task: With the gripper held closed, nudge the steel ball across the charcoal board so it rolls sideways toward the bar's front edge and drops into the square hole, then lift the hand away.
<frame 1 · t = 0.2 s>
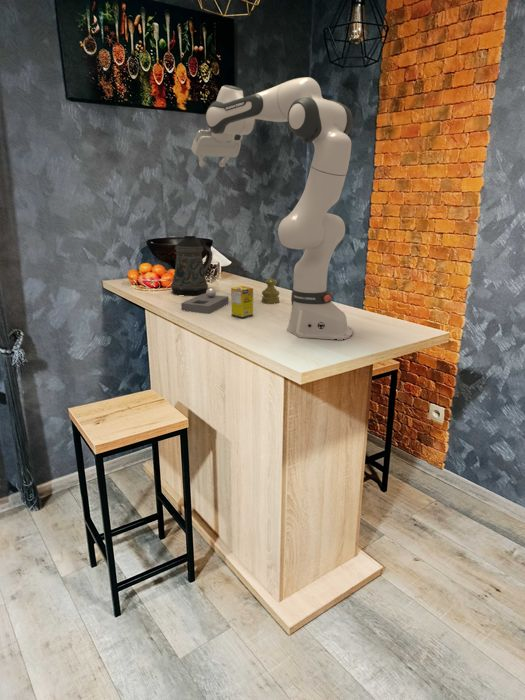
hand: (211, 166, 192), 54 cm above the countertop, tool tilted 30°, fingers open, 8 cm apart
beer stein: (191, 292, 225), on the countertop
steel ball: (211, 292, 201), point 5 cm above the countertop, touching hole board
olive tiered figure: (270, 302, 209), on the countertop
supplement box: (242, 316, 186), on the countertop
hole board: (205, 307, 199), on the countertop
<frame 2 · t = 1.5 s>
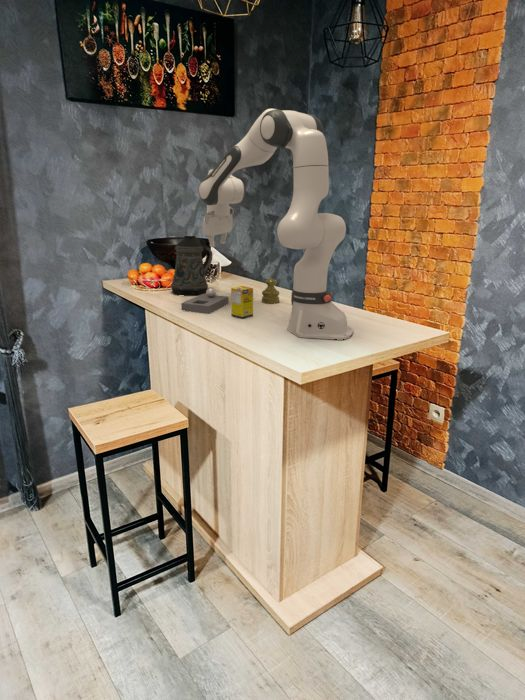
hand: (217, 245, 203), 23 cm above the countertop, tool pointing down, fingers open, 8 cm apart
nothing on the countertop moved.
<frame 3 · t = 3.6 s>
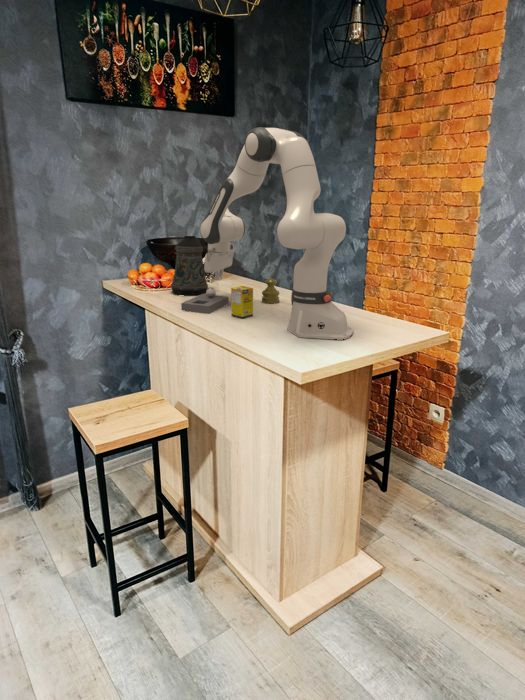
hand: (218, 280, 208), 9 cm above the countertop, tool pointing down, fingers closed
nothing on the countertop moved.
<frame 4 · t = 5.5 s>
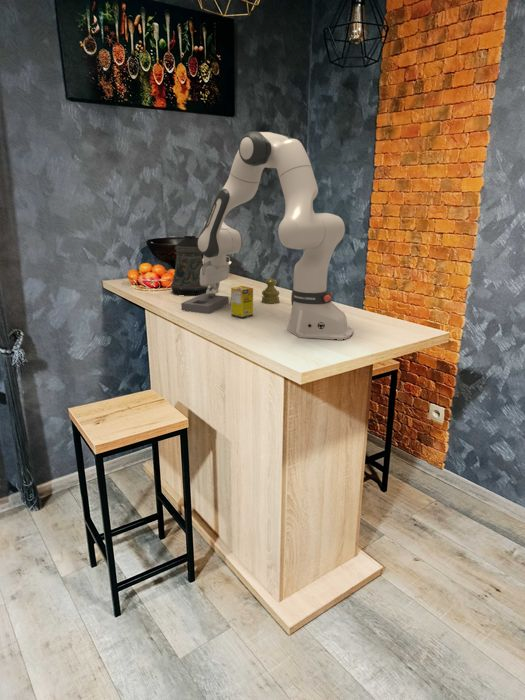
hand: (214, 293, 205), 4 cm above the countertop, tool pointing down, fingers closed
steel ball: (210, 292, 201), point 5 cm above the countertop, touching gripper, hole board
everything else where it was.
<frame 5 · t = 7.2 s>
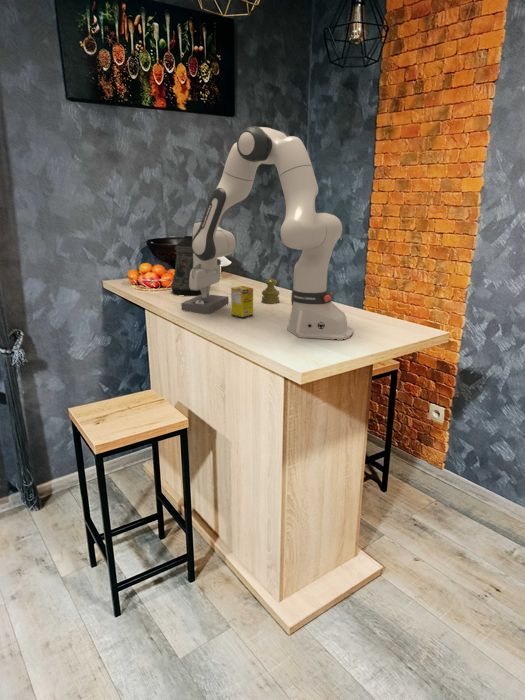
hand: (205, 297, 197), 4 cm above the countertop, tool pointing down, fingers closed
steel ball: (199, 304, 194), point 2 cm above the countertop, tilted 27°
everything else where it was.
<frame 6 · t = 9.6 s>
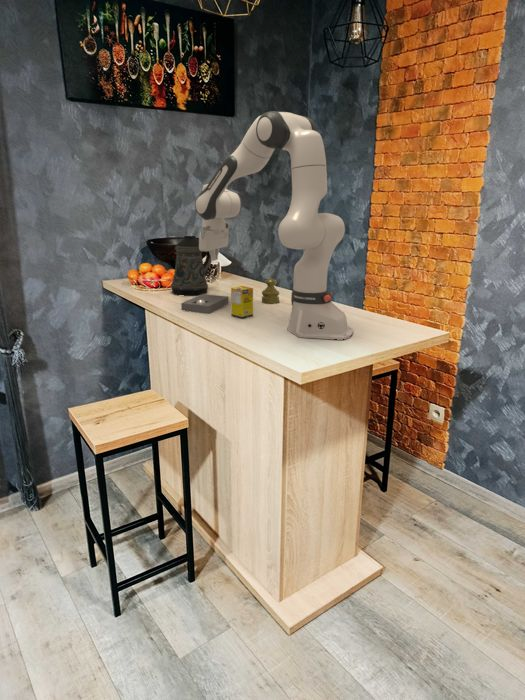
hand: (214, 260, 200), 18 cm above the countertop, tool pointing down, fingers closed
steel ball: (200, 304, 195), point 2 cm above the countertop, tilted 57°
everything else where it was.
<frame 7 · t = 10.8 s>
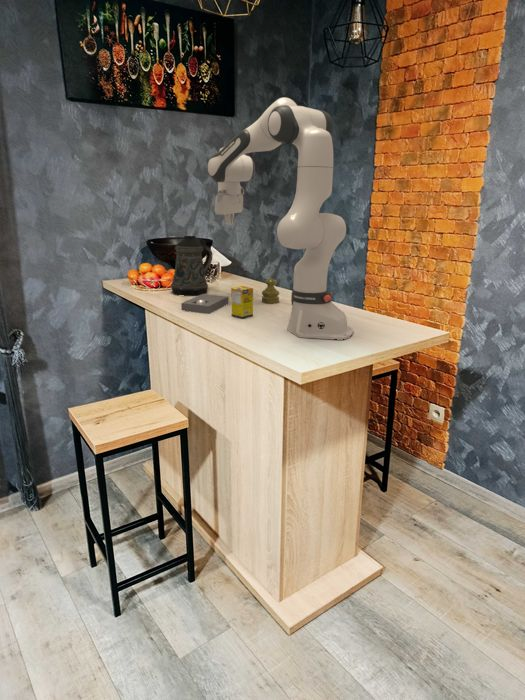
hand: (229, 225, 203), 31 cm above the countertop, tool pointing down, fingers closed
nothing on the countertop moved.
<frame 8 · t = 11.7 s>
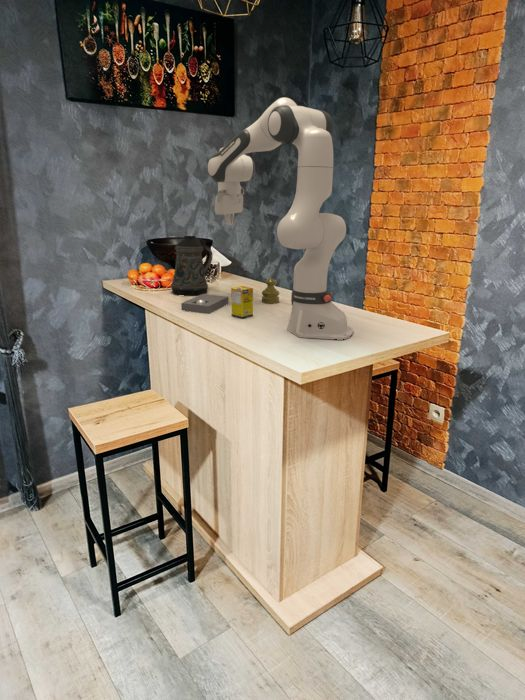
hand: (229, 225, 203), 31 cm above the countertop, tool pointing down, fingers closed
nothing on the countertop moved.
at the end: steel ball 0.5 cm from the target spot in the hole board, point 2.0 cm above the hole board's base; steel ball point 2.0 cm above the countertop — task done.
